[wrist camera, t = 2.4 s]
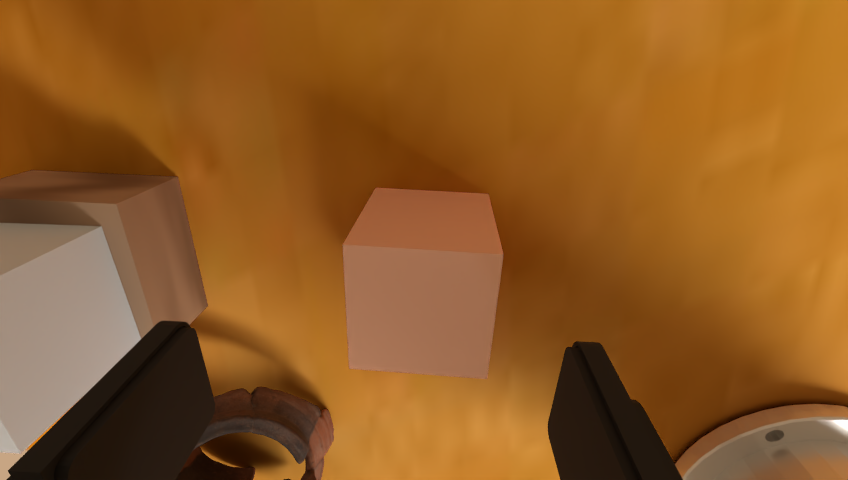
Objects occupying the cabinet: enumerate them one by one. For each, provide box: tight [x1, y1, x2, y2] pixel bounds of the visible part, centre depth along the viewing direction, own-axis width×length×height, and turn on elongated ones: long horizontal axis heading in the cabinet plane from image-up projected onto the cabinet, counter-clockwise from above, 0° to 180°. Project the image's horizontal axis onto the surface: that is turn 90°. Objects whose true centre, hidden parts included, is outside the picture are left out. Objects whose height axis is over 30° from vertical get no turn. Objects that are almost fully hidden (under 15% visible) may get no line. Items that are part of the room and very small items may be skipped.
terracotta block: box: [343, 188, 504, 379], centre depth 16 cm, size 5×5×6 cm
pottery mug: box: [175, 387, 334, 480], centre depth 23 cm, size 12×9×8 cm
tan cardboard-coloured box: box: [0, 170, 208, 339], centre depth 19 cm, size 7×7×4 cm
